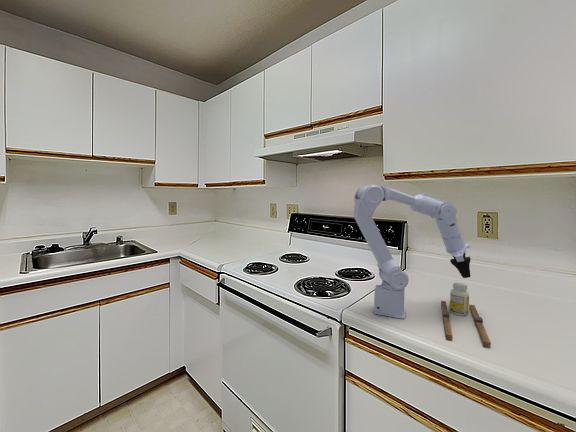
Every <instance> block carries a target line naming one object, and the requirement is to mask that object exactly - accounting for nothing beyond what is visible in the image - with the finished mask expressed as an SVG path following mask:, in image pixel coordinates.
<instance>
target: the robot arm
mask: <svg viewBox="0 0 576 432" xmlns="http://www.w3.org/2000/svg"><path fill="white" fill-rule="evenodd" d="M353 200H354V206H353V207H354V209H353V211H354V212H353V218H354V220H355V222H356V224H357V226H358V227H359V230H360V232H361V234H362V235H363V237H364V240H365V241H366V244H367V245H368V247H369V249H370V251H371V253H372V256H373V257H374V258H375V261H376V262H377V264H376V266H377V268H378V275H379V278H380V279H381V284H376V285H375V286H374V294H373V295H374V300H373V301H374V304H373V305H374V307H373V310H374V311H373V314H375V315H379V316H384V317H391V318H397V319H402V320H404V319H405V317H406V312H407V308H405V289H406V287H407V286H408V285H409V281H410V280H409V276H408V275H409V274H407V273H406V272H405V271H403V270H402V269H401V266H400V265H399V264H398V263H397V261H395V259H394V257H393V256H392V254H391V252H390V250H389V248H388V246H387V244H386V242H385V240H384V238H383V237H382V235H381V232H380V230H379V228H378V227H377V224H376V222H375V221H374V219H373V215H374V213H375V210H376V209H377V208H378V207H379V206H380V205H381V203H382V202H387V201H393V202H396V203H399V204H403V205H407V206H409V207H410V209H411V210H412V211H413V212H416V213H419V214H423V215H427V216H429V217H431V218H432V219H434V220H435V222H436V225H437V227H438V230H439V234H440V235H441V238H442V241H443V244H444V246H445V250H446V253H448V254H449V255H451V256H452V258H451V259H449V260H450V263H451V265H452V266H453V267H455V268H456V269H457V271H458V272H459V275H461V277H462V279H467V278H471V270H470V265H471V264H470V263H471V260H472V259H471V257H470V256H466V252H467V251H466V250H467V249H470V248H471V245H470V243H466V242H465V241H464V238H463V235H462V232H461V230H460V227H459V224H458V221H457V220H458V219H457V214H458V209H457V207H456V206H454V205H453V203H451V202H449V201H441V199H440V198H433V197H430V196H428V194H427V193H421V194H420V193H419V194H415V195H414V196H413V195H411V194H409V193H406V192H402V191H400V190H398V189H394V188H391V187H387V186H383V185H381V186H380V185H378V184H371V185H366V184H365V185H362V186H360V187H358V188H357V190H356V192H355V194H354V196H353Z"/></svg>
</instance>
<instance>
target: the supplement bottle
mask: <svg viewBox="0 0 576 432" xmlns="http://www.w3.org/2000/svg"><path fill="white" fill-rule="evenodd" d="M452 288H453V289H451V290H450V293H449V313H450V314H454V315H456V316H461V317H465V316H468V315H469V305H470V293H469V291H468V285H467V284H465V283H462V282H461V283H460V282H454V283H453V284H452Z"/></svg>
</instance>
